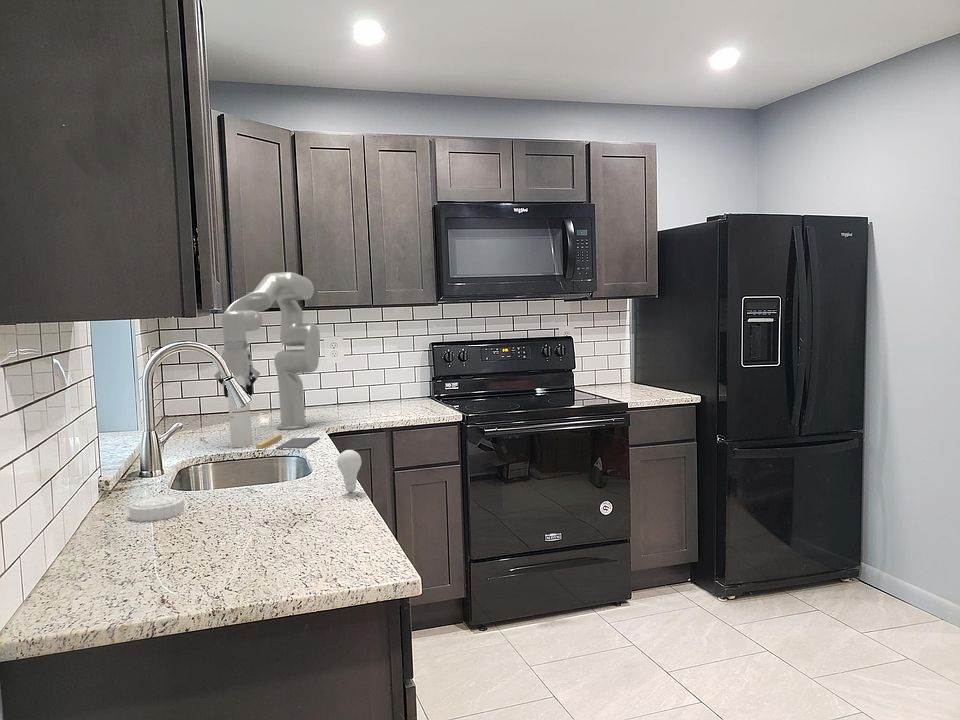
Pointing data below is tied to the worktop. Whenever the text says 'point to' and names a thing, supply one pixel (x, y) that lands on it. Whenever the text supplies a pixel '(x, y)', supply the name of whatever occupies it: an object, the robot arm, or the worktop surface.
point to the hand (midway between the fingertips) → (238, 396)
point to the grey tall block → (240, 421)
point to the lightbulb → (349, 468)
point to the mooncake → (156, 508)
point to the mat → (298, 443)
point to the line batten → (269, 441)
